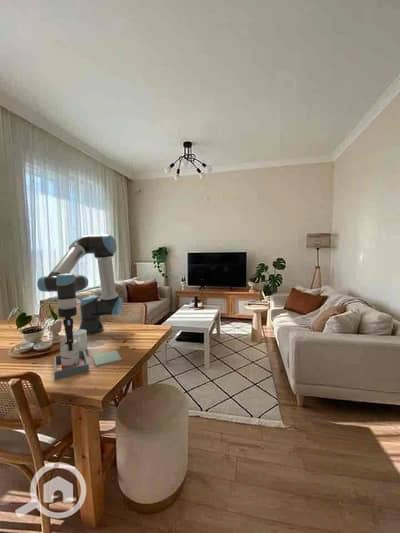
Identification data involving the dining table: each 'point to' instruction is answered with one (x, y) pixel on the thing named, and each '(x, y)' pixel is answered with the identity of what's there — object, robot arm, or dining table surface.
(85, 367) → the bin
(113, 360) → the mat
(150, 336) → the dining table surface
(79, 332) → the mug
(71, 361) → the ink cartridge box
